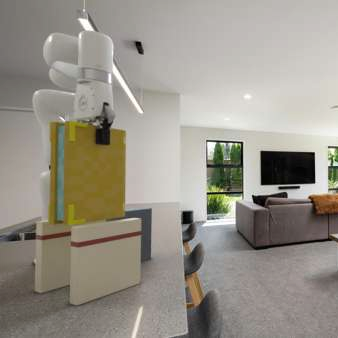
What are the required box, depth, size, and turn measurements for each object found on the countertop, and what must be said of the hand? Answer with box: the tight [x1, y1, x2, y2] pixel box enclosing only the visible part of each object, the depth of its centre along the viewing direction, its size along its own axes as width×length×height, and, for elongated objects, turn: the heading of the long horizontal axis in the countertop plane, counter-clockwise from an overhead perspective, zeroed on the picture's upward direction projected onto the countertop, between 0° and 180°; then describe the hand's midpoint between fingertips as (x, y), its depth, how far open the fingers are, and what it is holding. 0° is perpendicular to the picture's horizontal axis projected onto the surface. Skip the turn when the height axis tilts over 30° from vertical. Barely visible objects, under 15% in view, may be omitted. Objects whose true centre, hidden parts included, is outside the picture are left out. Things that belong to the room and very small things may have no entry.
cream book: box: [34, 219, 106, 294], centre depth 80 cm, size 3×15×18 cm, turn 156°
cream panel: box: [69, 218, 142, 306], centre depth 74 cm, size 3×15×18 cm, turn 156°
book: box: [48, 120, 127, 225], centre depth 78 cm, size 17×7×25 cm, turn 167°
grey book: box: [106, 207, 153, 262], centre depth 97 cm, size 3×14×18 cm, turn 156°
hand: (93, 144), depth 78 cm, fingers closed on book, 7 cm apart
